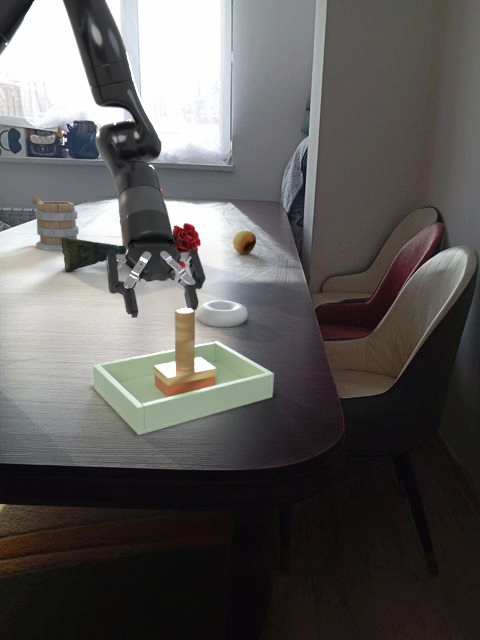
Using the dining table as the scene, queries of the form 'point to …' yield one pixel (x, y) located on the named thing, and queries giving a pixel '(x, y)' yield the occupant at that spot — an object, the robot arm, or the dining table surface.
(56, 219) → the tankard
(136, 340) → the dining table surface
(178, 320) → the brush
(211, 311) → the donut
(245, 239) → the fruit
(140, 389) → the tray
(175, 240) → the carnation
